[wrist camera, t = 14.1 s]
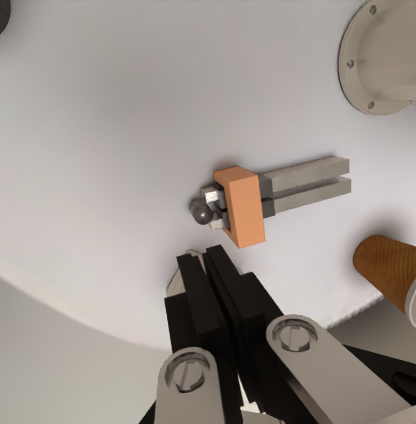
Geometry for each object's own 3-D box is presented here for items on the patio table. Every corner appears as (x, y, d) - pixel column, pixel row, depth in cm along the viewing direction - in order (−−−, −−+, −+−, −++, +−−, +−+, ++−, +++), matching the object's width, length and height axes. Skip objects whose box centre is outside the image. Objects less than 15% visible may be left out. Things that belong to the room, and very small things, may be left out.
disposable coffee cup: (348, 293, 44) (421, 352, 33) (338, 240, 41) (417, 287, 30) (400, 267, 45) (487, 315, 34) (395, 213, 42) (491, 249, 31)
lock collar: (223, 229, 35) (239, 248, 30) (213, 172, 33) (228, 182, 28) (246, 223, 36) (265, 240, 31) (238, 166, 33) (257, 175, 28)
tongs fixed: (190, 217, 34) (196, 226, 31) (185, 191, 33) (190, 199, 30) (333, 179, 37) (352, 184, 34) (333, 154, 36) (351, 158, 33)
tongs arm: (206, 223, 34) (213, 232, 32) (203, 208, 34) (210, 216, 31) (335, 187, 38) (352, 193, 35) (335, 173, 37) (351, 178, 34)
